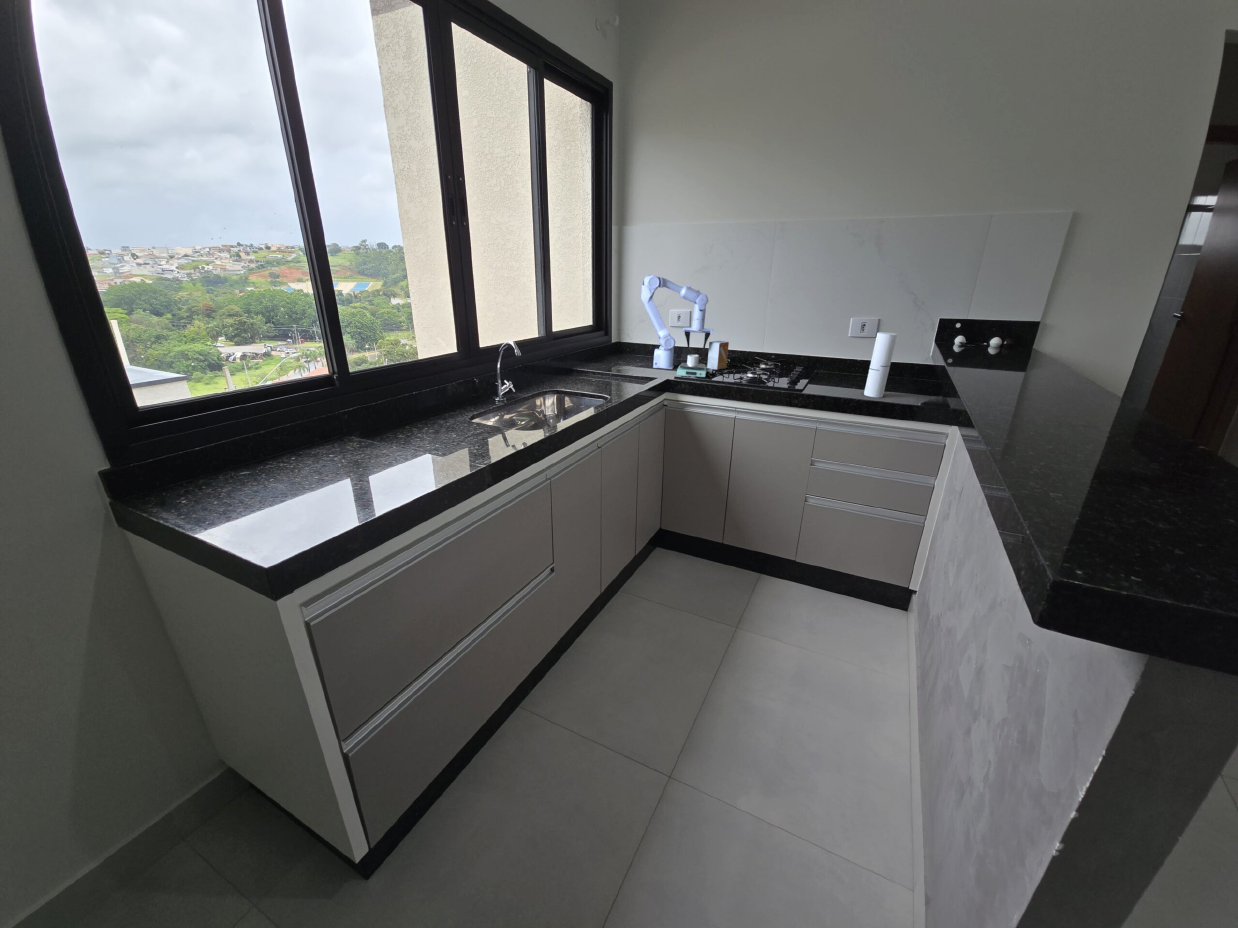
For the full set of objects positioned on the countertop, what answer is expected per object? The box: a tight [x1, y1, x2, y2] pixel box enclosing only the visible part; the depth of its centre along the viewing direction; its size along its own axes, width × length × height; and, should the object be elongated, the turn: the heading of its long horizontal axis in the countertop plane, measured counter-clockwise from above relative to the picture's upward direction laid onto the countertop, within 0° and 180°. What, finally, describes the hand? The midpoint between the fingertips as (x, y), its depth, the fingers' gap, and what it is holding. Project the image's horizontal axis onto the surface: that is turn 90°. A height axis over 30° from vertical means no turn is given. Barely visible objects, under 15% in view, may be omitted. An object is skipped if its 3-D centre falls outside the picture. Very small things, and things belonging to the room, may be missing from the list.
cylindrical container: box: [863, 331, 898, 398], centre depth 204 cm, size 7×7×25 cm
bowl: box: [686, 354, 700, 366], centre depth 235 cm, size 5×5×4 cm
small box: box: [706, 340, 730, 370], centre depth 251 cm, size 8×6×13 cm
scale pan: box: [679, 362, 706, 370], centre depth 236 cm, size 11×9×1 cm
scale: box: [676, 365, 708, 378], centre depth 237 cm, size 13×11×2 cm
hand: (696, 347), depth 248 cm, fingers open, 7 cm apart
